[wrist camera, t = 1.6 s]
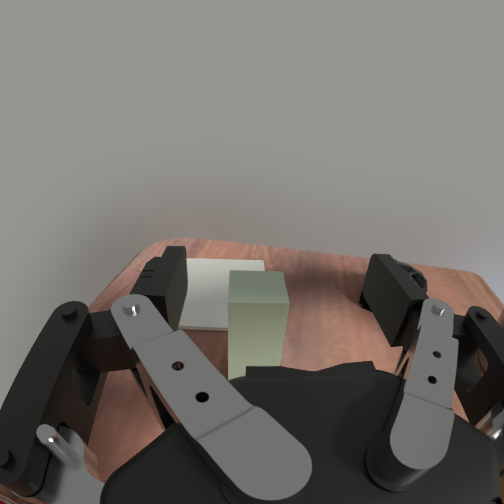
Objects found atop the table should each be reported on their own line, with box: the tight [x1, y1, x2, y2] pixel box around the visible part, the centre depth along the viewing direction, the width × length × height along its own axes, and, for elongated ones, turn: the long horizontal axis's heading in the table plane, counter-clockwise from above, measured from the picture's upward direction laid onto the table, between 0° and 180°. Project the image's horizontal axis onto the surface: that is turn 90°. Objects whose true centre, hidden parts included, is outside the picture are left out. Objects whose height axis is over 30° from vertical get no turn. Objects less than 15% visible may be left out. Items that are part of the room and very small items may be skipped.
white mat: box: [178, 258, 265, 331], centre depth 45 cm, size 18×18×1 cm
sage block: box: [228, 270, 290, 380], centre depth 28 cm, size 5×5×12 cm
